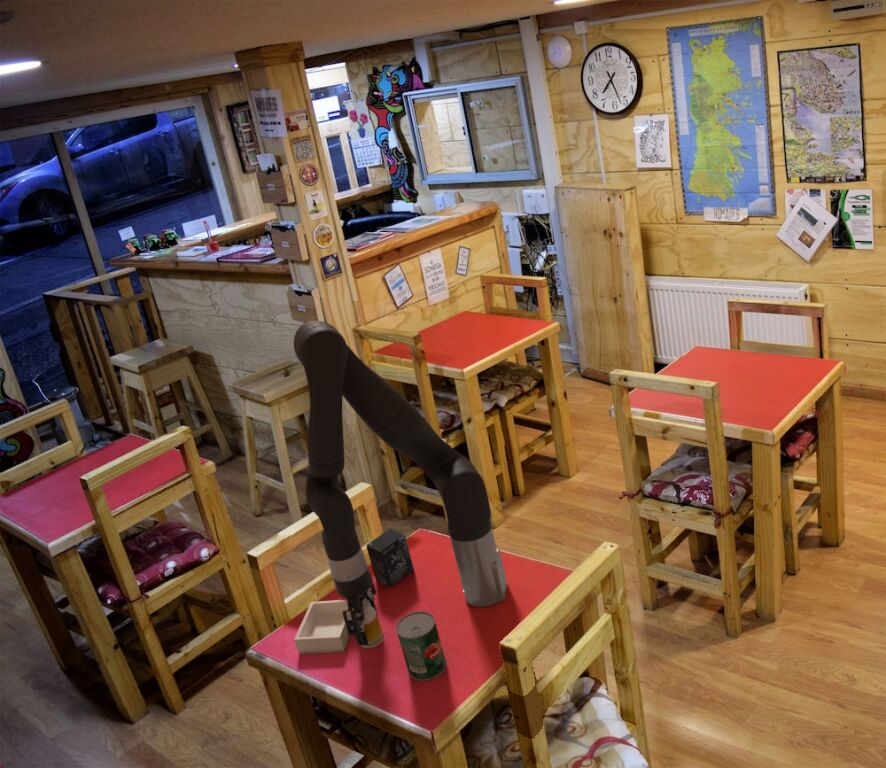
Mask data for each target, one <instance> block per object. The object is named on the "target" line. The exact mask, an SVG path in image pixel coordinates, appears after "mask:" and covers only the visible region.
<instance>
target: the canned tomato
mask: <svg viewBox="0 0 886 768" xmlns="http://www.w3.org/2000/svg"><path fill="white" fill-rule="evenodd" d="M437 627H438V626H437V623H436V620H435V617H434V615H433V614H432V613H430V612H428V611H421V610H420V611H414V612H411V613H407V614H405V615H403V617H401V619H399V621H398V622H397V623H396V626H395V631H396V634H397V637H398V640H399V645H400V648H401V650H402V654H403V657H404V661H405V664H406V667H407V672H408V675H409V676H410V677H411V678H412V679H414V680H416V681H420V682H425V681H430V680H434V679H436V678H437V677H439V676H440V675H442V674H443V672H444V671H445V670H446V668H447V660H446V657H445V654H444V649H443V645H442V643H441V638H440V635H439V631H438V628H437Z"/></svg>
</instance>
